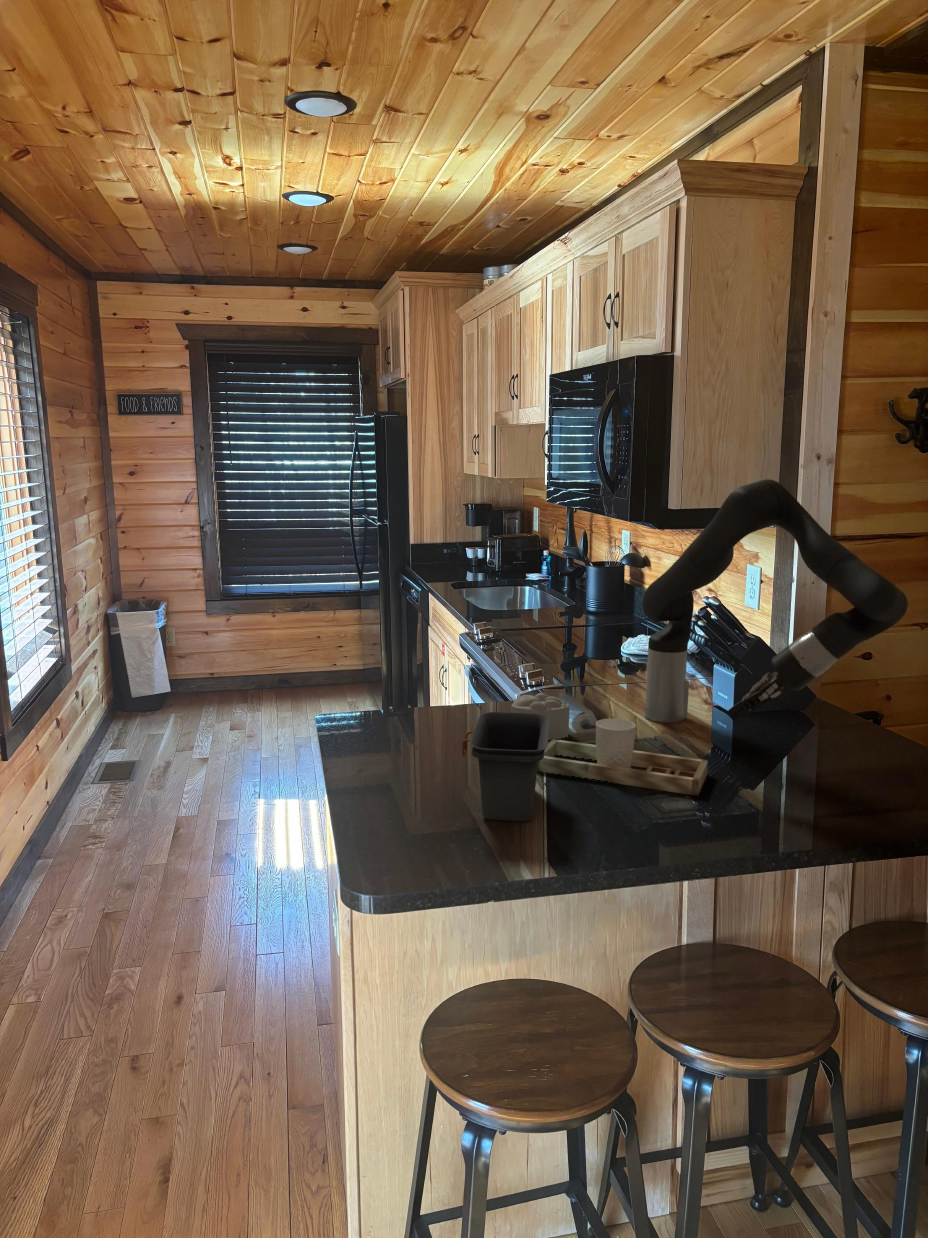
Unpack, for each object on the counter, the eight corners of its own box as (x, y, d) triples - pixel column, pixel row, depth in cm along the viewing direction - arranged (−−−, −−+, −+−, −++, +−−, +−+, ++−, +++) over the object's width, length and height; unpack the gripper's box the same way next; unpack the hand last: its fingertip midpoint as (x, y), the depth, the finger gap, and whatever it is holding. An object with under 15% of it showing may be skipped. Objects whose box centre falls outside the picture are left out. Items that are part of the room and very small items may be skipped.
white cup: (624, 781, 175) (626, 732, 173) (587, 773, 179) (589, 725, 177) (639, 769, 181) (641, 722, 180) (603, 762, 186) (605, 716, 184)
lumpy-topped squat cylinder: (515, 725, 211) (516, 689, 209) (570, 729, 208) (571, 693, 206) (508, 738, 201) (509, 701, 199) (566, 743, 198) (567, 705, 196)
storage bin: (545, 830, 152) (547, 750, 149) (454, 825, 153) (455, 745, 151) (548, 785, 172) (550, 714, 170) (468, 781, 174) (469, 710, 172)
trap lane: (707, 774, 179) (708, 760, 178) (697, 795, 168) (698, 780, 167) (552, 752, 191) (552, 739, 191) (534, 770, 180) (534, 756, 180)
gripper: (792, 637, 169) (721, 693, 176) (788, 651, 157) (712, 710, 164) (820, 667, 168) (747, 722, 175) (818, 683, 156) (740, 741, 163)
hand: (730, 716), depth 169 cm, fingers closed
